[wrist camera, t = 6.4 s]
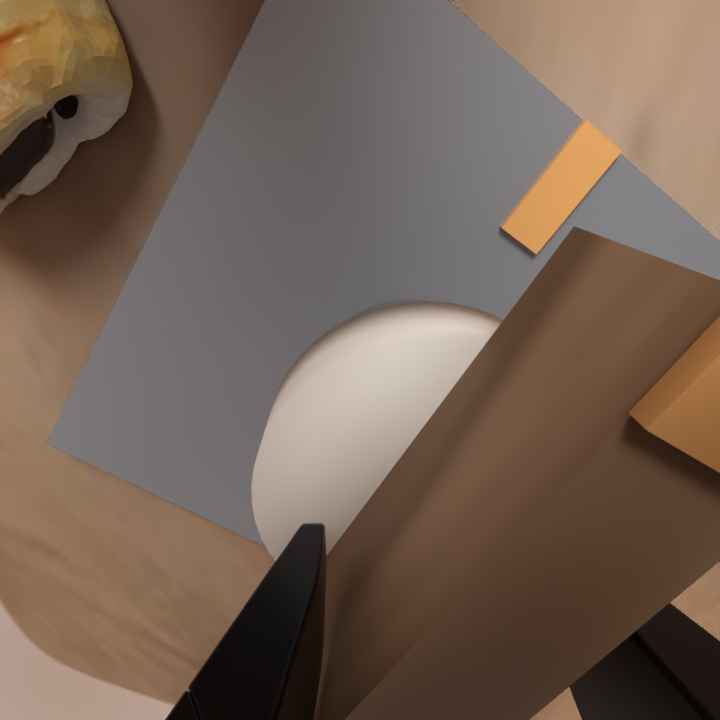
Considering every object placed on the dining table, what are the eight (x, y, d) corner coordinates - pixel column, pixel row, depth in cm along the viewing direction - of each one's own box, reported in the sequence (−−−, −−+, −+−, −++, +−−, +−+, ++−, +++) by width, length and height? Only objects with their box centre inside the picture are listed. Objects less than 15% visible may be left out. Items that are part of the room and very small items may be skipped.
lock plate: (323, -90, 11) (308, -215, 7) (770, 301, 14) (913, 354, 11) (63, 426, 16) (-23, 510, 12) (441, 610, 20) (462, 715, 16)
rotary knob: (187, 542, 12) (65, 841, 7) (430, 127, 8) (562, 101, 3) (413, 632, 14) (452, 932, 9) (707, 316, 10) (1104, 510, 5)
